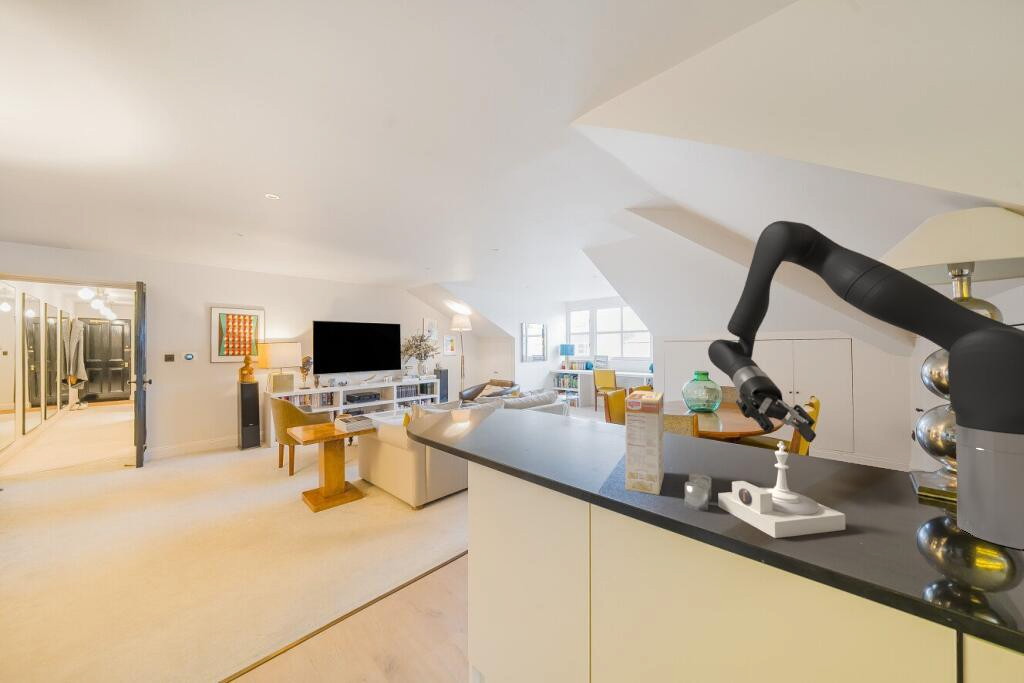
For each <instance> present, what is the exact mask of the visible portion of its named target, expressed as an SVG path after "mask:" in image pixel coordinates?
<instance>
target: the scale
mask: <svg viewBox="0 0 1024 683" xmlns="http://www.w3.org/2000/svg"><path fill="white" fill-rule="evenodd" d="M772 488H773V487H758V486H756V485H754V484H751V483H749V482H747V481H745V480H737V481H731V490H732V491H730V492H718V494H717V495H718V496H717V497H718V506H717V507H718V508H720V509H722V510H724V511H726V512H728V513H729V514H731V515H732V516H735V517H736V518H738V519H740V520H742V522H745V523H747V524H749V525H751V526H752V527H755V528H756V529H758V530H760V531H761V532H763V533H765V534H767V535H769V536H771V537H772V538H773V539H777V538H779V539H781V538H786V537H787V538H788V537H796V536H804V535H811V534H812V535H813V534H821V533H828V532H837V531H844V530H846V514H845V513H843V512H841V511H838V510H836V509H832V508H830V507H828V506H825V505H823V504H822V503H821V504H820V503H818V502H817V501H815V500H814V499H812V498H810V497H808V496H807V495H806V496H805V495H803V494H801V493H798V492H794V491H791V490H790V492H793V493H795V494H796V495H797V496H798V497H799V502H798V503H783V502H778V501H775V500H772V493H770V492H768V491H766V490H767V489H772Z"/></svg>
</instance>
